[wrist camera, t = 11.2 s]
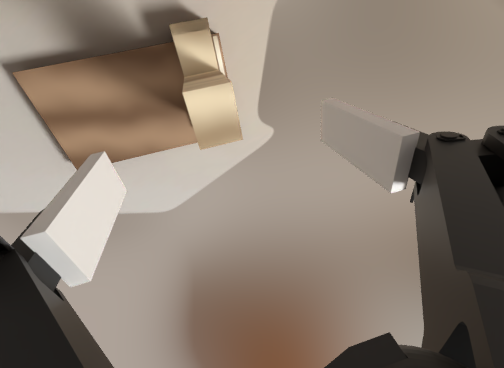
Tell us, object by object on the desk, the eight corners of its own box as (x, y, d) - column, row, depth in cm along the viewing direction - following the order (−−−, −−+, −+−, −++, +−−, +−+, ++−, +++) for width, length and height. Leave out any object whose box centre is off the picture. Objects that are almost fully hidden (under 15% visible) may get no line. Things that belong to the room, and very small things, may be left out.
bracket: (170, 26, 26) (158, 14, 16) (205, 19, 27) (216, 4, 16) (200, 127, 33) (206, 168, 22) (227, 120, 33) (246, 158, 22)
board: (23, 70, 26) (11, 72, 24) (216, 33, 28) (218, 32, 26) (83, 164, 32) (77, 171, 31) (236, 128, 35) (238, 132, 33)
